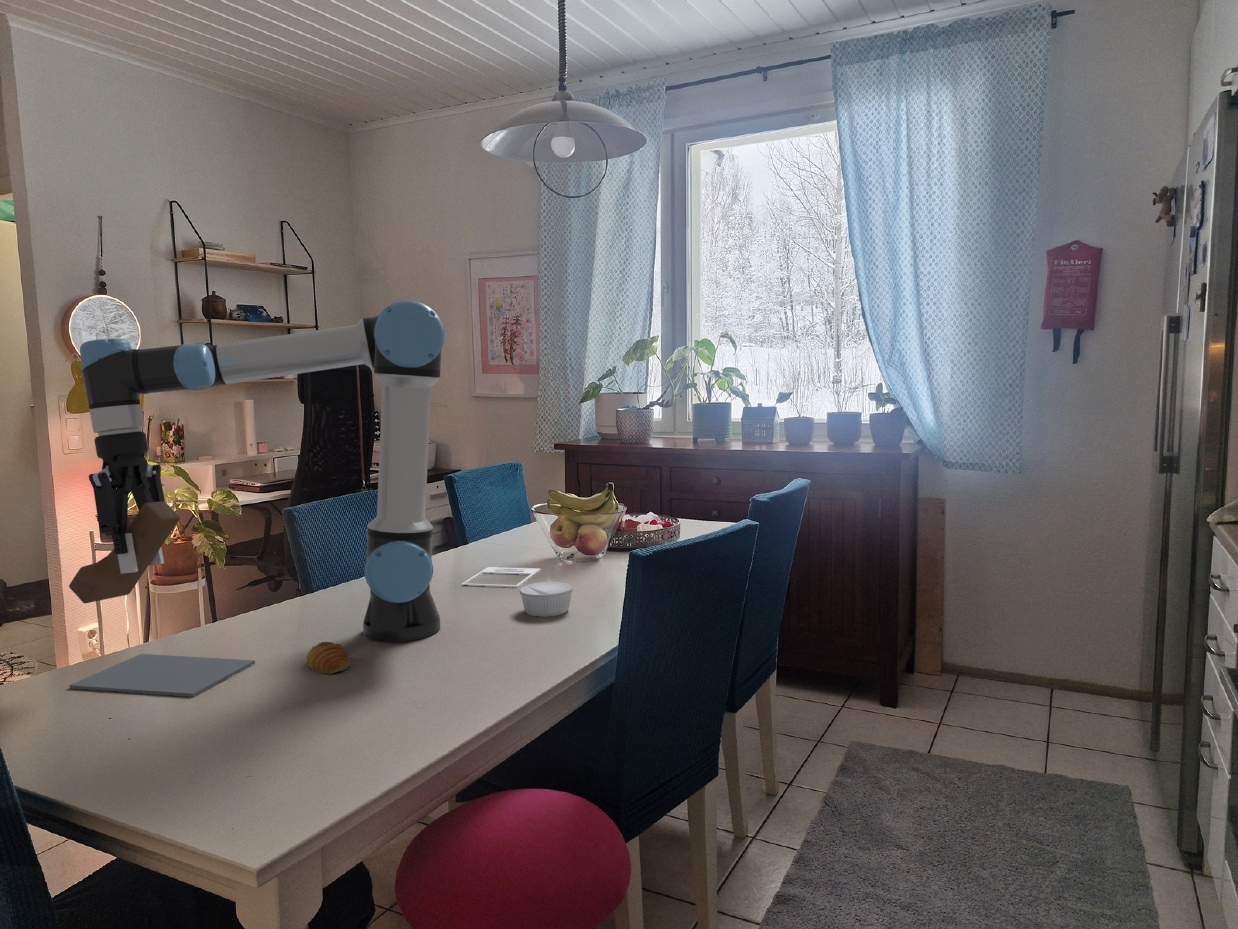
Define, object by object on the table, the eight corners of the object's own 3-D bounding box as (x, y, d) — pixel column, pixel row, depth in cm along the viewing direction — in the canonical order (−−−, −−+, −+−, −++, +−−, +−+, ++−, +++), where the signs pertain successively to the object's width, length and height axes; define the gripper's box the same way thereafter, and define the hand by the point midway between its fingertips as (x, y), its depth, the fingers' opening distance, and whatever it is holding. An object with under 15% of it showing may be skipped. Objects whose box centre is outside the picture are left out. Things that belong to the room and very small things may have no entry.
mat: (255, 663, 153) (255, 660, 153) (193, 697, 137) (193, 693, 137) (141, 657, 158) (141, 653, 158) (69, 688, 142) (69, 685, 142)
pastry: (359, 670, 149) (358, 649, 148) (321, 680, 145) (319, 658, 144) (339, 657, 156) (338, 637, 156) (303, 666, 152) (301, 645, 152)
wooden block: (83, 605, 138) (138, 522, 134) (66, 586, 139) (120, 504, 135) (129, 595, 147) (182, 517, 143) (113, 578, 147) (165, 500, 144)
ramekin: (511, 616, 180) (510, 592, 179) (535, 602, 190) (535, 579, 189) (558, 621, 175) (557, 596, 175) (581, 607, 186) (580, 583, 185)
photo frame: (540, 568, 220) (517, 585, 203) (540, 572, 220) (517, 589, 203) (487, 566, 223) (460, 583, 206) (488, 570, 223) (460, 587, 206)
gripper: (140, 431, 151) (162, 558, 153) (54, 439, 133) (80, 583, 135) (177, 426, 149) (198, 555, 151) (95, 434, 131) (120, 579, 133)
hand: (142, 568), depth 143 cm, fingers closed on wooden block, 5 cm apart
